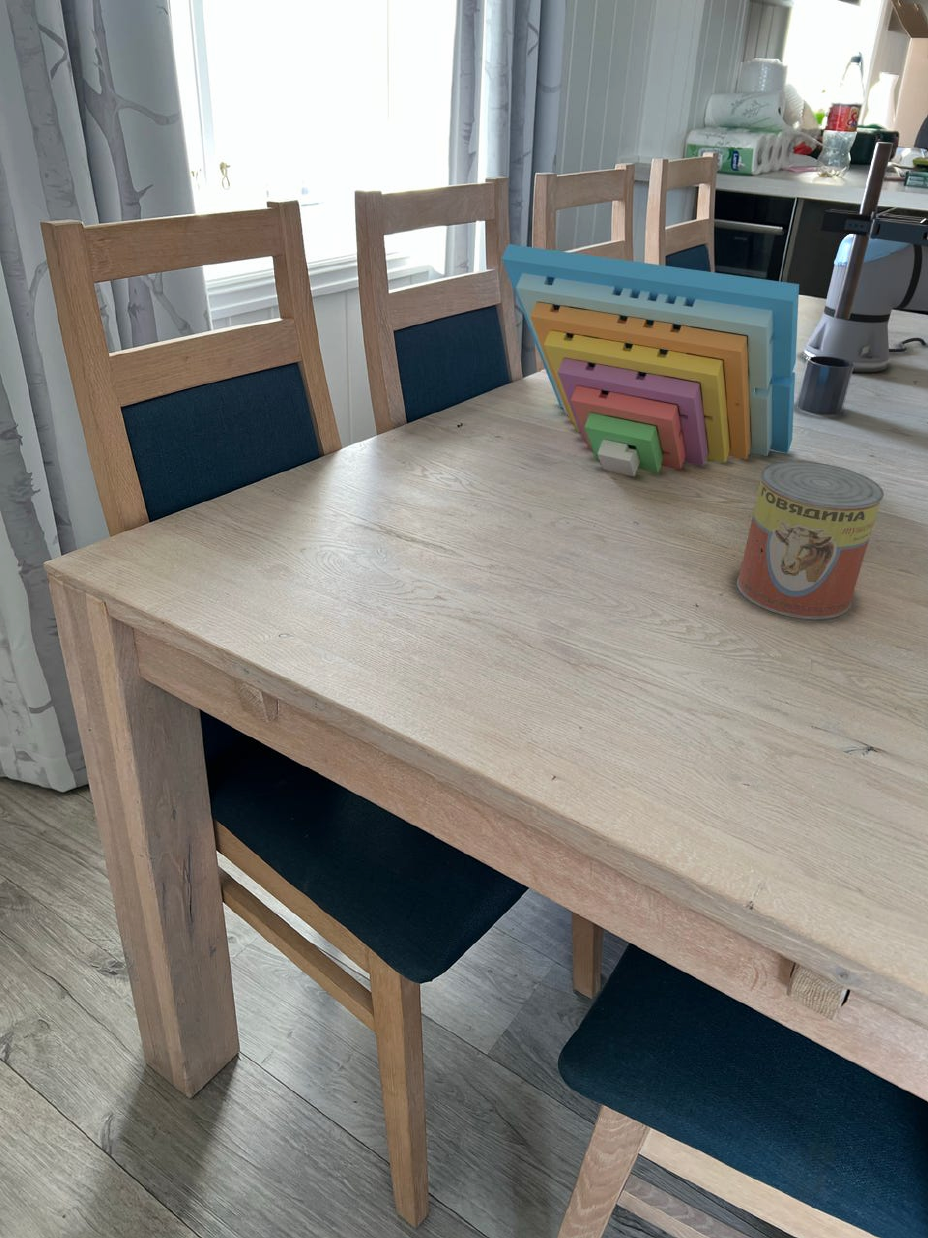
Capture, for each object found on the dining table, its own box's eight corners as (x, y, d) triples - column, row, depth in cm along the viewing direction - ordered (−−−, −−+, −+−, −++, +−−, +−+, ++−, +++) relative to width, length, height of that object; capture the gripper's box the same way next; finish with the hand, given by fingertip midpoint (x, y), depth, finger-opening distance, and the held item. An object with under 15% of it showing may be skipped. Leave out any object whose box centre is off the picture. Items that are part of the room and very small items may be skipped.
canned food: (727, 602, 94) (752, 490, 88) (746, 558, 103) (770, 453, 97) (846, 630, 90) (880, 515, 84) (854, 582, 99) (886, 475, 93)
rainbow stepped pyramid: (524, 493, 143) (455, 366, 112) (564, 393, 147) (508, 243, 115) (754, 550, 130) (748, 424, 98) (792, 439, 133) (799, 284, 102)
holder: (801, 401, 155) (812, 353, 151) (844, 410, 152) (857, 360, 148) (790, 412, 150) (802, 361, 146) (835, 421, 147) (848, 370, 143)
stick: (835, 315, 145) (877, 141, 133) (850, 317, 144) (894, 142, 132) (832, 317, 143) (875, 142, 131) (847, 320, 142) (891, 143, 130)
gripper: (985, 274, 126) (807, 252, 136) (994, 261, 137) (830, 241, 147) (1004, 214, 122) (820, 195, 132) (1012, 205, 134) (842, 188, 143)
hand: (825, 219), depth 139 cm, fingers closed on stick, 2 cm apart
